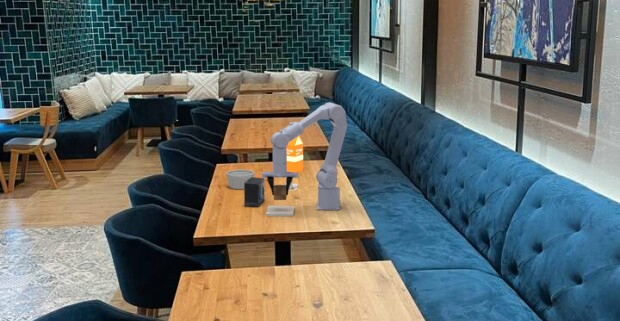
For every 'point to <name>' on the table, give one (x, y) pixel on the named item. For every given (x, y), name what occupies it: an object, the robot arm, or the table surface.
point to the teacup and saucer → (293, 186)
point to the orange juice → (295, 155)
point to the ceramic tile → (280, 211)
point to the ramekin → (238, 178)
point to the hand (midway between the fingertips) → (280, 194)
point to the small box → (254, 192)
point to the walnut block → (280, 192)
